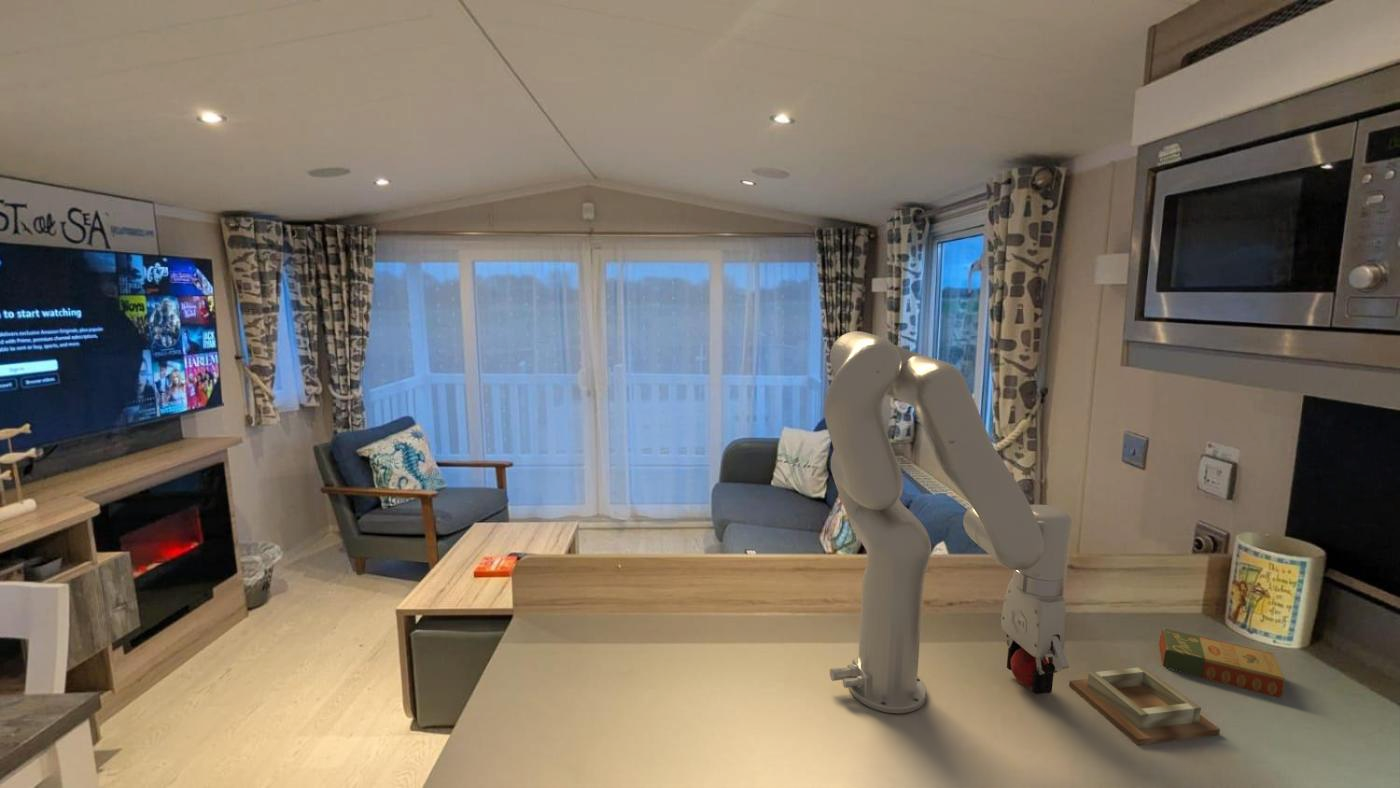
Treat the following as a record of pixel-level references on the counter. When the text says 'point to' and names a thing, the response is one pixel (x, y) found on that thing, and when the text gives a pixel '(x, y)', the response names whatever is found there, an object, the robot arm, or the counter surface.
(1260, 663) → the carton
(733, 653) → the counter surface
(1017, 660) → the onion
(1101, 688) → the holder
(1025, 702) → the counter surface
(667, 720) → the counter surface
